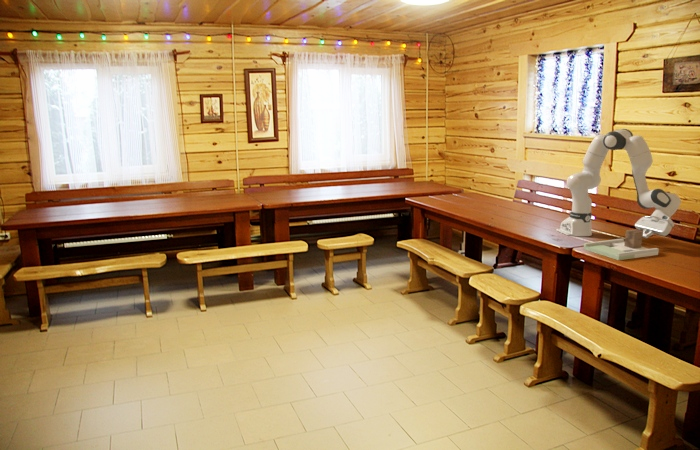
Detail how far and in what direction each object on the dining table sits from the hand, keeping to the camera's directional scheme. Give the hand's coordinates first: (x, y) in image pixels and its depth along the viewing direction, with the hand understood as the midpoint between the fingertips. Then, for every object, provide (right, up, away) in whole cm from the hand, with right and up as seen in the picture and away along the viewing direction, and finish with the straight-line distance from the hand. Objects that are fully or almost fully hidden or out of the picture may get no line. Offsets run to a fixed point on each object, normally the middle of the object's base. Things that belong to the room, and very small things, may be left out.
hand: (644, 237), depth 324 cm
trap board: (-16, -8, -4) cm, 18 cm away
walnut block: (-7, -5, -2) cm, 9 cm away
